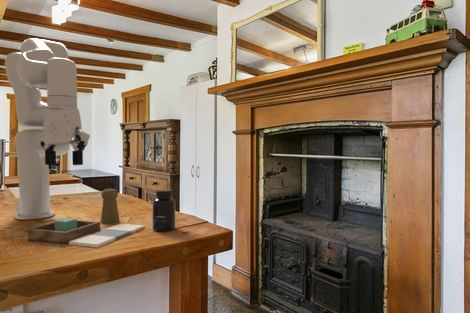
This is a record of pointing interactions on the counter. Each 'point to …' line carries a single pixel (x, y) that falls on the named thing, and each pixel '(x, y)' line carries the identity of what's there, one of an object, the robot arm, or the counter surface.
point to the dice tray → (50, 235)
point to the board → (106, 235)
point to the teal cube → (65, 224)
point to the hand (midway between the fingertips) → (64, 164)
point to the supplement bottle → (163, 211)
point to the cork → (109, 207)
